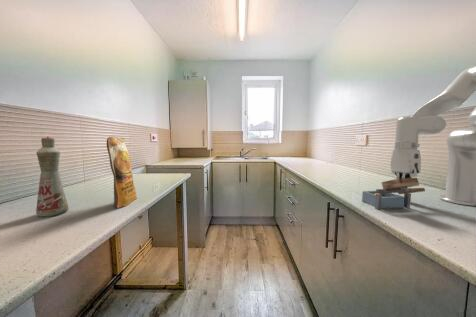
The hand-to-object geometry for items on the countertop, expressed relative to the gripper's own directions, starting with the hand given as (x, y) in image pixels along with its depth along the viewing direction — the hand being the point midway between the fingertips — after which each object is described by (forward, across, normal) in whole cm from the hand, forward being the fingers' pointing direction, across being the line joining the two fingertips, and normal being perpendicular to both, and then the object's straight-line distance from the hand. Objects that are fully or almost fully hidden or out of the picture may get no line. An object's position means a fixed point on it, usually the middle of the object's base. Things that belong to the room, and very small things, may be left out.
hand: (402, 188), depth 88 cm
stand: (+6, -8, +12) cm, 16 cm away
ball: (+4, -1, +12) cm, 13 cm away
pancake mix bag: (+7, +13, +119) cm, 120 cm away
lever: (0, -7, +8) cm, 11 cm away
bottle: (+7, +3, +140) cm, 140 cm away
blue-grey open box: (+6, -3, +12) cm, 14 cm away
